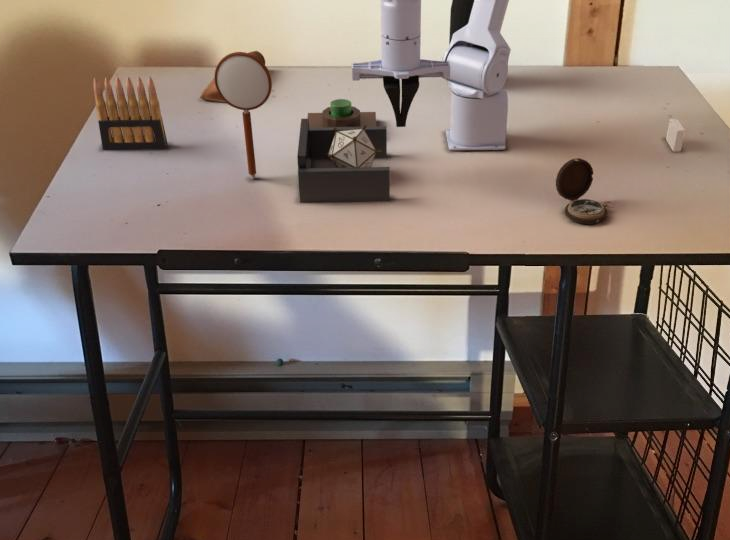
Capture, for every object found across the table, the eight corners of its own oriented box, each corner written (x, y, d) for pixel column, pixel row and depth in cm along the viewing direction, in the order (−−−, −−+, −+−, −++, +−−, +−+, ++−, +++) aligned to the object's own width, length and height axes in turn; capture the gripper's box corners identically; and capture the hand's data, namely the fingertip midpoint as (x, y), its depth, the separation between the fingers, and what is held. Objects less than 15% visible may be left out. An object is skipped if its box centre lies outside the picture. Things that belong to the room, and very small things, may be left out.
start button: (351, 110, 162) (351, 98, 161) (351, 118, 159) (351, 106, 158) (331, 110, 162) (330, 99, 161) (330, 118, 159) (330, 107, 158)
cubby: (386, 154, 155) (386, 114, 151) (389, 200, 142) (389, 157, 138) (304, 156, 155) (301, 115, 151) (299, 202, 142) (296, 159, 138)
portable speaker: (502, 88, 178) (510, -20, 166) (456, 93, 176) (460, -16, 164) (487, 73, 184) (494, -33, 172) (442, 77, 182) (445, -29, 170)
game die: (360, 202, 150) (367, 172, 140) (313, 178, 150) (316, 147, 140) (384, 158, 153) (392, 126, 143) (337, 135, 153) (343, 101, 143)
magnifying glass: (225, 180, 148) (209, 53, 136) (228, 175, 150) (212, 49, 137) (278, 183, 147) (267, 55, 135) (280, 178, 149) (270, 51, 136)
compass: (579, 229, 135) (586, 182, 131) (550, 205, 141) (556, 160, 136) (625, 218, 138) (633, 172, 133) (595, 195, 143) (602, 150, 139)
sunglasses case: (224, 64, 187) (238, 36, 183) (255, 84, 189) (269, 56, 185) (197, 98, 173) (212, 68, 169) (231, 119, 175) (246, 90, 171)
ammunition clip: (167, 144, 159) (156, 74, 151) (166, 149, 158) (154, 78, 150) (104, 145, 159) (90, 75, 151) (102, 150, 157) (87, 79, 150)
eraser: (673, 151, 156) (677, 130, 153) (665, 139, 159) (669, 118, 157) (680, 151, 156) (685, 130, 153) (672, 139, 159) (677, 118, 157)
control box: (375, 120, 166) (375, 101, 164) (376, 141, 159) (376, 122, 157) (308, 122, 166) (307, 102, 164) (306, 143, 159) (305, 123, 157)
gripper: (350, 44, 132) (353, 136, 140) (453, 42, 132) (450, 134, 141) (350, 28, 137) (353, 117, 146) (449, 26, 137) (446, 115, 146)
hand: (400, 124), depth 144 cm, fingers closed
